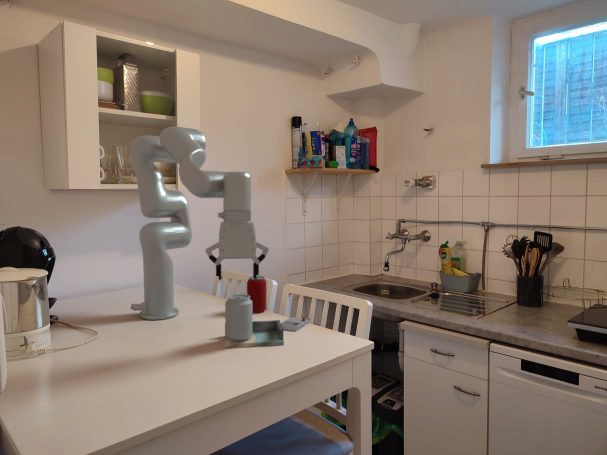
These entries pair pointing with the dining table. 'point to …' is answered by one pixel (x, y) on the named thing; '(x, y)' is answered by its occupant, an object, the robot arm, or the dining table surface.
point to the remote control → (294, 324)
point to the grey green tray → (260, 335)
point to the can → (238, 317)
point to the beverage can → (257, 293)
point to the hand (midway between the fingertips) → (237, 278)
